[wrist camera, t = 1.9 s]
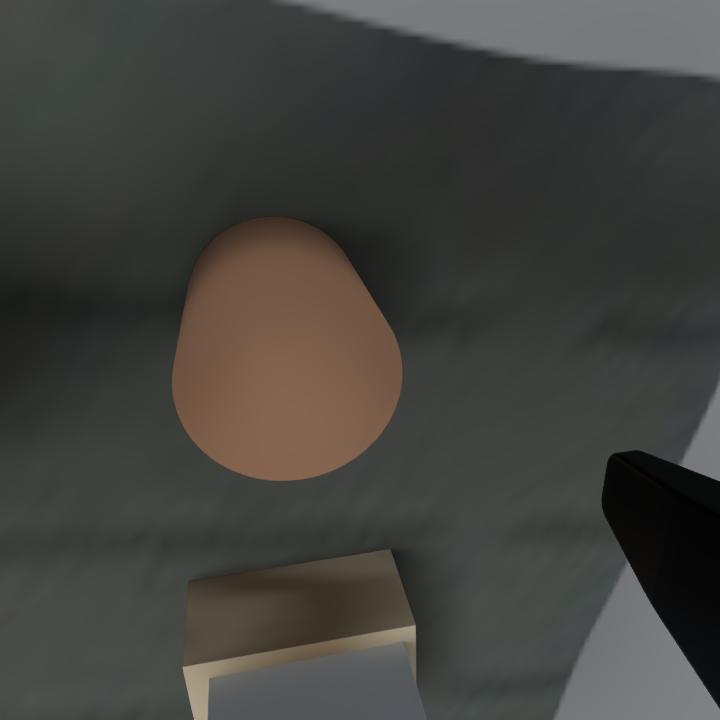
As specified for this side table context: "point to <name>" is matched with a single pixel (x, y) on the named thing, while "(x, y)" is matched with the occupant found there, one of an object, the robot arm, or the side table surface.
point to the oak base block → (292, 617)
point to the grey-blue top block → (322, 689)
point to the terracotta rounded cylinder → (282, 354)
